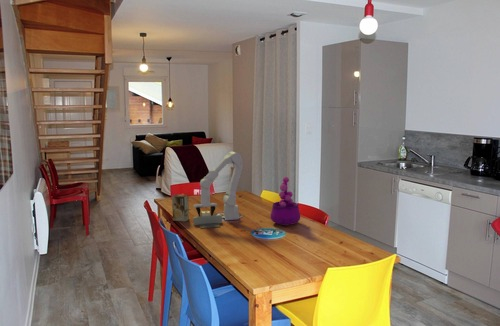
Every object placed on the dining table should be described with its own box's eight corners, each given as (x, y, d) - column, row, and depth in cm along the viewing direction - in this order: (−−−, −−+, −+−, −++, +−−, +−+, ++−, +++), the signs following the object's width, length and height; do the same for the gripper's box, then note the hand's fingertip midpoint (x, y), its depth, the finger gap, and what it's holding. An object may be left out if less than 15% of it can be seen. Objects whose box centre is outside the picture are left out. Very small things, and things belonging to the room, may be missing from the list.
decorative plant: (298, 228, 252) (299, 180, 248) (268, 227, 256) (268, 178, 251) (301, 220, 270) (302, 174, 266) (272, 218, 274) (273, 173, 269)
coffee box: (189, 219, 272) (189, 195, 270) (185, 221, 266) (184, 197, 264) (176, 217, 275) (176, 194, 273) (172, 220, 269) (171, 196, 267)
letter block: (208, 219, 272) (208, 210, 271) (210, 221, 267) (210, 212, 266) (201, 220, 270) (201, 210, 269) (202, 222, 265) (202, 212, 264)
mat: (217, 223, 263) (217, 222, 262) (220, 227, 255) (220, 226, 255) (198, 225, 259) (198, 224, 259) (200, 228, 252) (200, 228, 251)
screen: (221, 222, 265) (221, 214, 264) (222, 223, 264) (221, 215, 263) (193, 224, 260) (193, 217, 259) (193, 225, 259) (193, 217, 258)
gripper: (195, 199, 260) (195, 220, 262) (217, 198, 264) (218, 218, 266) (193, 197, 267) (193, 217, 269) (215, 195, 271) (215, 216, 273)
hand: (205, 218), depth 268 cm, fingers open, 7 cm apart
